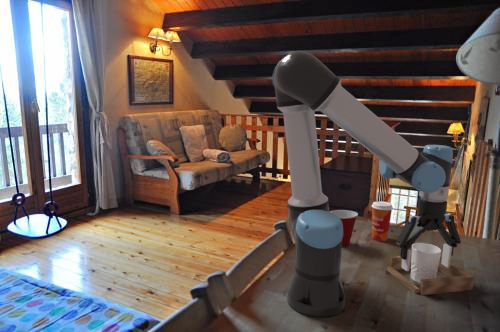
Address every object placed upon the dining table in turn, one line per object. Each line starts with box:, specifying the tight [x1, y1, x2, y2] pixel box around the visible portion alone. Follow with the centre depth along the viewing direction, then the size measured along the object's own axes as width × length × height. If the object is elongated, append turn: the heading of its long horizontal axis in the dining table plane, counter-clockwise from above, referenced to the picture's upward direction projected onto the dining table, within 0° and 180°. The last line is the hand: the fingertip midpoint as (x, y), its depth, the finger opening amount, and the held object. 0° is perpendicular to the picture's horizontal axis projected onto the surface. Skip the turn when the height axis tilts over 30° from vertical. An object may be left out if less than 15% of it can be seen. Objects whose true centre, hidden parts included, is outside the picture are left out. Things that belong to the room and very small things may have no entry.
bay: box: [386, 255, 475, 296], centre depth 113 cm, size 18×16×4 cm
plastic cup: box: [329, 209, 359, 247], centre depth 138 cm, size 11×11×12 cm
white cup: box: [410, 242, 442, 284], centre depth 112 cm, size 8×8×10 cm
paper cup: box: [371, 200, 394, 242], centre depth 143 cm, size 8×8×14 cm
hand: (425, 267), depth 112 cm, fingers open, 13 cm apart
